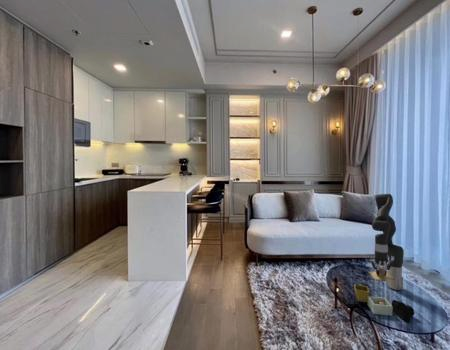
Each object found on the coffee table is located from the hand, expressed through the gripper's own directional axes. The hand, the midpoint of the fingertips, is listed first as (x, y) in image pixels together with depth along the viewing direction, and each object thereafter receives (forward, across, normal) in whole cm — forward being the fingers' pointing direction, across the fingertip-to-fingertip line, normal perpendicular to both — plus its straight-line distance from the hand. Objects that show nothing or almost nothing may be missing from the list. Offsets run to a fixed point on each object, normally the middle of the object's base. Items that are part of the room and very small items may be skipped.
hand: (381, 275), depth 168 cm
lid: (+1, 0, 0) cm, 1 cm away
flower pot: (+23, +10, -8) cm, 26 cm away
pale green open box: (+22, +2, +3) cm, 23 cm away
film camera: (+23, -10, +8) cm, 26 cm away
